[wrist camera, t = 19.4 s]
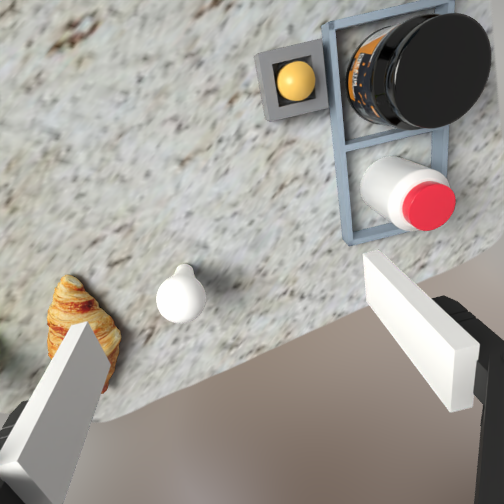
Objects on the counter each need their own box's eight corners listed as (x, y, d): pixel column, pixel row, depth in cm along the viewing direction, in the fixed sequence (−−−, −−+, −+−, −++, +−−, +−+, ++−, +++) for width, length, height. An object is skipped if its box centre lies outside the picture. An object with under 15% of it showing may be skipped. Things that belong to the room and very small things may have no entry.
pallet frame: (321, 25, 39) (328, 22, 37) (441, -3, 39) (455, -8, 37) (342, 239, 51) (348, 246, 49) (434, 216, 52) (444, 222, 49)
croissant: (58, 261, 51) (7, 288, 45) (111, 268, 48) (64, 299, 41) (95, 370, 60) (57, 406, 53) (142, 382, 57) (108, 423, 50)
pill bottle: (349, 196, 49) (385, 224, 39) (380, 145, 46) (428, 161, 36) (391, 218, 51) (435, 249, 41) (423, 170, 48) (479, 192, 38)
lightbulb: (167, 288, 51) (158, 336, 42) (160, 252, 49) (148, 293, 39) (208, 284, 52) (208, 330, 42) (203, 247, 49) (202, 287, 39)
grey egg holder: (253, 56, 40) (257, 53, 37) (312, 42, 40) (321, 38, 37) (265, 119, 43) (269, 121, 40) (319, 106, 43) (328, 107, 40)
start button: (272, 67, 39) (277, 65, 36) (304, 59, 39) (312, 57, 36) (277, 103, 41) (283, 104, 38) (309, 95, 41) (317, 96, 38)
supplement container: (362, 13, 39) (422, -15, 29) (439, 44, 42) (520, 29, 31) (329, 109, 43) (369, 116, 33) (400, 133, 46) (460, 147, 35)
